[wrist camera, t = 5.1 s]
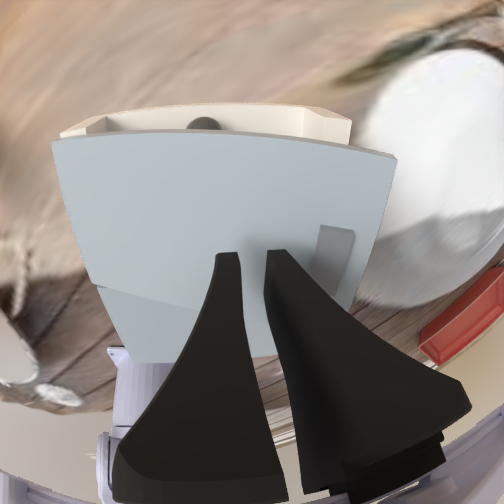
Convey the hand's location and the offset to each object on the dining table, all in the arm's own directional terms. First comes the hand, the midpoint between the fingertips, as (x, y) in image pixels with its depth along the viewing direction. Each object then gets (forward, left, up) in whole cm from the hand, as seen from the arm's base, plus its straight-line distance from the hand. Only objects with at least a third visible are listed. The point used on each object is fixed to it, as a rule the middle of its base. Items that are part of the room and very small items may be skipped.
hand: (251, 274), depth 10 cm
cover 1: (0, +2, -3) cm, 3 cm away
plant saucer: (-22, -37, -10) cm, 44 cm away
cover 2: (-9, +2, -5) cm, 11 cm away
